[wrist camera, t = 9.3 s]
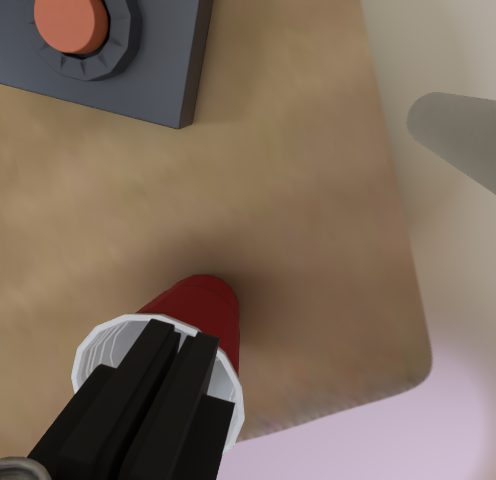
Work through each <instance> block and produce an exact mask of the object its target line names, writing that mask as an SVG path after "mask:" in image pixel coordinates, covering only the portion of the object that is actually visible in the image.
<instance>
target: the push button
mask: <svg viewBox="0 0 496 480" xmlns="http://www.w3.org/2000/svg"><path fill="white" fill-rule="evenodd" d="M34 18H35V23H36V26H37V29H38V31H39V33H40V34H41V36H42V37H43V39H44V40H45V41H46V42H47V43H48V44H49V45H50V46H51V47H53V48H54V49H56V50H58V51H61V52H66V53H76V54H88V53H91V52H93V51H95V50H97V49H98V48H99V47H100V46H101V45H102V44H103V42H104V40H105V38H106V36H107V32H108V16H107V12H106V9H105V7H104V5H103V3H102V1H101V0H35V5H34Z"/></svg>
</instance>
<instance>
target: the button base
mask: <svg viewBox="0 0 496 480" xmlns="http://www.w3.org/2000/svg"><path fill="white" fill-rule="evenodd" d="M101 1H102V3H103V5H104V7H105V9H106V12H107V16H108V32H107V36H106V38H105V40H104V42H103V44H102V45H101V46H100V47H99V48H98V49H97V50H95V51H93V52H91V53H88V54H76V53H66V52H61V51H58V50H56V49H54V48H53V47H51V46H50V45H49V44H48V43H47V42H46V41H45V40H44V39H43V37H42V36H41V34H40V33H39V31H38V29H37V26H36V23H35V18H34V5H35V0H0V84H3V85H7V86H11V87H15V88H18V89H22V90H26V91H30V92H34V93H38V94H42V95H46V96H50V97H53V98H57V99H61V100H65V101H69V102H73V103H77V104H81V105H85V106H89V107H92V108H96V109H100V110H104V111H108V112H112V113H116V114H120V115H124V116H128V117H131V118H135V119H139V120H143V121H147V122H151V123H155V124H159V125H163V126H166V127H170V128H174V129H181V128H183V127H186V126H189V125H191V124H192V120H193V115H194V109H195V103H196V97H197V91H198V85H199V80H200V74H201V68H202V62H203V56H204V50H205V45H206V39H207V33H208V27H209V21H210V15H211V10H212V4H213V0H101Z"/></svg>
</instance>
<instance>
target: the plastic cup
mask: <svg viewBox="0 0 496 480" xmlns="http://www.w3.org/2000/svg"><path fill="white" fill-rule="evenodd" d="M152 318H153V319H157V320H160V321H164V322H167V323H171V324H174V325H175V329H174V331H176V332H180V333H181V339H180V344H179V349H178V352H179V350H180V348H181V346H182V344H183V342H184V340H185V338H186V336H187V335H190V336H194V337H195V336H196V334H197V332H198V331H199V332H203V333H206V334H210V335H213V336H217V337H220V342H219V346H218V350H217V355H216V359H215V363H214V367H213V371H212V375H211V380H210V384H209V388H208V392H207V395H210V396H213V397H217V398H220V399H223V400H227V401H230V402H234V403H235V407H234V411H233V415H232V419H231V423H230V427H229V431H228V435H227V439H226V443H225V446H224V450H223V454H222V455H224V454H225V453H226V452H227V451H229V450H230V449H231V448H232V447H233V446H234V444H235V441H236V439H237V437H238V434H239V432H240V429H241V427H242V424H243V422H244V407H243V395H242V383H241V381H240V379H239V375H238V370H239V344H240V331H239V307H238V302H237V298H236V296H235V295H234V293H233V291H232V289H231V288H230V287H229V286H228V285H227V284H225V283H224V282H223V281H222V280H221V279H218V278H215V277H213V276H210V275H193V276H191V277H188V278H186V279H183V280H181V281H179V282H178V283H176V284H175V285H174V286H173V287H172V288H170V289H169V290H167V291H165V292H163V293H162V294H161V295H159V296H158V297H157V298H155V299H154V300H152V301H151V302H150V303H148V304H147V305H146V306H144V307H143V308H142V309H140V310H139V311H138V312H136V313H128V314H125V315H123V316H120V317H118V318H115V319H113V320H110V321H108V322H106V323H103V324H101V325H98V326H96V327H95V328H94V329H93V331H92V332H91V333H90V334H89V335H88V337H87V338H86V339H85V340H84V341H83V342H82V344H81V345H80V346H79V347H78V348H77V353H76V357H75V362H74V366H73V371H72V375H71V378H72V382H73V387H74V392H75V394H76V392H77V391H78V390H79V388H80V387H81V386H82V384H83V383H84V382H85V381H86V379H87V378H88V377H89V375H90V374H91V373H92V371H93V370H94V369H95V368H96V367H97V366H98V365H100V364H104V365H108V366H111V367H114V368H117V367H118V366H119V364H120V363H121V361H122V360H123V358H124V357H125V355H126V354H127V353H128V351H129V350H130V348H131V347H132V345H133V344H134V342H135V341H136V339H137V338H138V337H139V335H140V334H141V332H142V331H143V329H144V328H145V326H146V325H147V324H148V322H149V321H150V320H151V319H152Z"/></svg>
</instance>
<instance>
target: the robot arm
mask: <svg viewBox="0 0 496 480" xmlns="http://www.w3.org/2000/svg"><path fill="white" fill-rule="evenodd" d="M174 329H175V325H174V324H171V323H167V322H164V321H160V320H157V319H153V318H152V319H151V320H150V321H149V322H148V324H147V325H146V326H145V328H144V329H143V331H142V332H141V334H140V335H139V337H138V338H137V339H136V341H135V342H134V344H133V345H132V347H131V348H130V350H129V351H128V353H127V354H126V355H125V357H124V358H123V360H122V361H121V363H120V364H119V366H118V367H117V368H114V367H111V366H108V365H104V364H100V365H98V366H97V367H96V368H95V369H94V370H93V371H92V373H91V374H90V375H89V377H88V378H87V379H86V381H85V382H84V383H83V384H82V386H81V387H80V388H79V390H78V391H77V392H76V394H75V395H74V396H73V398H72V399H71V400H70V401H69V403H68V404H67V405H66V407H65V408H64V409H63V411H62V412H61V413H60V415H59V416H58V417H57V418H56V420H55V421H54V422H53V424H52V425H51V426H50V428H49V429H48V430H47V431H46V433H45V434H44V435H43V437H42V438H41V439H40V441H39V442H38V443H37V445H36V446H35V447H34V448H33V450H32V451H31V452H30V454H29V455H28V456H27V458H26V457H5V458H1V459H0V480H216V478H217V474H218V470H219V466H220V462H221V458H222V454H223V450H224V446H225V443H226V439H227V435H228V431H229V427H230V423H231V419H232V415H233V411H234V407H235V403H234V402H230V401H227V400H223V399H220V398H217V397H213V396H210V395H207V392H208V388H209V384H210V380H211V375H212V371H213V367H214V363H215V359H216V355H217V350H218V346H219V342H220V337H217V336H213V335H210V334H206V333H203V332H199V331H198V332H197V334H196V336H195V337H194V336H190V335H187V336H186V338H185V340H184V342H183V344H182V346H181V348H180V350H179V352H178V349H179V344H180V339H181V333H180V332H176V331H174Z"/></svg>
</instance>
